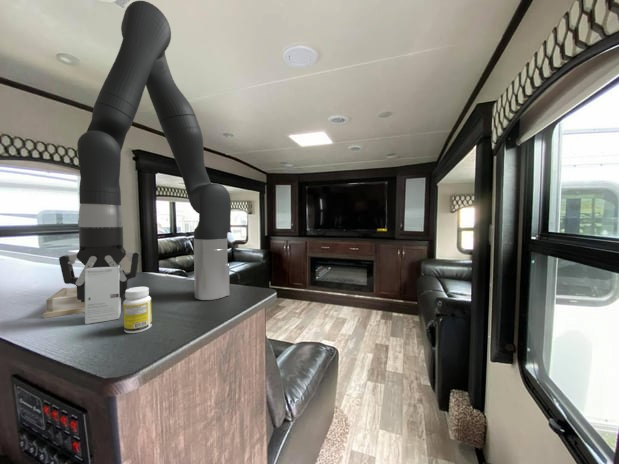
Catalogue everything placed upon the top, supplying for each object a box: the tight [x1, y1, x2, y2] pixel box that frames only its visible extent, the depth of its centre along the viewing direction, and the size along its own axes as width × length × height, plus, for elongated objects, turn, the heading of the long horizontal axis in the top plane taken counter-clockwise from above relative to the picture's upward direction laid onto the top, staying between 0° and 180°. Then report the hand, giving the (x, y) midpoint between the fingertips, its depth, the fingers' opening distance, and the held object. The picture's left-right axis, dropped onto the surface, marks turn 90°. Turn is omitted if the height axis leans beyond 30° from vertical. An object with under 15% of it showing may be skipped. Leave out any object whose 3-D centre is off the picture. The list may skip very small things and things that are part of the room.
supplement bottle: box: [122, 286, 153, 334], centre depth 51 cm, size 5×5×8 cm
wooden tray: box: [42, 286, 85, 319], centre depth 64 cm, size 12×12×4 cm
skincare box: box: [84, 265, 122, 325], centre depth 56 cm, size 6×4×12 cm
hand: (103, 298), depth 56 cm, fingers closed on skincare box, 6 cm apart
